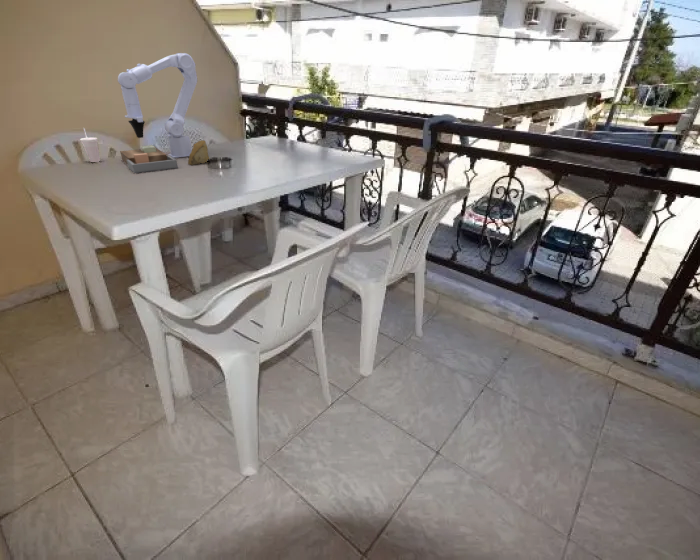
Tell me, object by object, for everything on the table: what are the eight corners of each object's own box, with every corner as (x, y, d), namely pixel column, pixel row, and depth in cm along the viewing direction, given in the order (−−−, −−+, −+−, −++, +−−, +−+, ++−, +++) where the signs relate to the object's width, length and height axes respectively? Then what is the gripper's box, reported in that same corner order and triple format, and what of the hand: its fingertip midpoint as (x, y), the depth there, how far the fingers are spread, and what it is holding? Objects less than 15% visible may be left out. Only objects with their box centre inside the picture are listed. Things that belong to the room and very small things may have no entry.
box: (170, 163, 168) (169, 155, 166) (178, 168, 161) (176, 159, 159) (128, 168, 158) (126, 159, 156) (134, 173, 152) (132, 164, 150)
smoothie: (85, 161, 166) (74, 127, 159) (102, 159, 170) (92, 126, 163) (88, 164, 162) (78, 129, 155) (105, 162, 166) (95, 128, 159)
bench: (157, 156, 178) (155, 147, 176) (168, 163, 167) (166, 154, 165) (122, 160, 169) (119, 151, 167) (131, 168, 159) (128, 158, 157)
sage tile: (153, 149, 172) (152, 145, 171) (156, 151, 169) (155, 147, 168) (141, 150, 169) (140, 146, 168) (144, 152, 166) (143, 148, 165)
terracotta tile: (146, 153, 160) (147, 154, 159) (148, 165, 162) (150, 166, 161) (133, 154, 157) (134, 155, 156) (136, 166, 160) (137, 167, 158)
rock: (187, 161, 162) (211, 156, 166) (181, 143, 163) (204, 138, 166) (190, 171, 173) (212, 167, 176) (184, 154, 173) (206, 150, 176)
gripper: (117, 102, 164) (126, 135, 171) (126, 106, 155) (135, 141, 161) (135, 102, 168) (142, 134, 175) (145, 105, 159) (152, 139, 166)
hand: (140, 137), depth 168 cm, fingers closed
